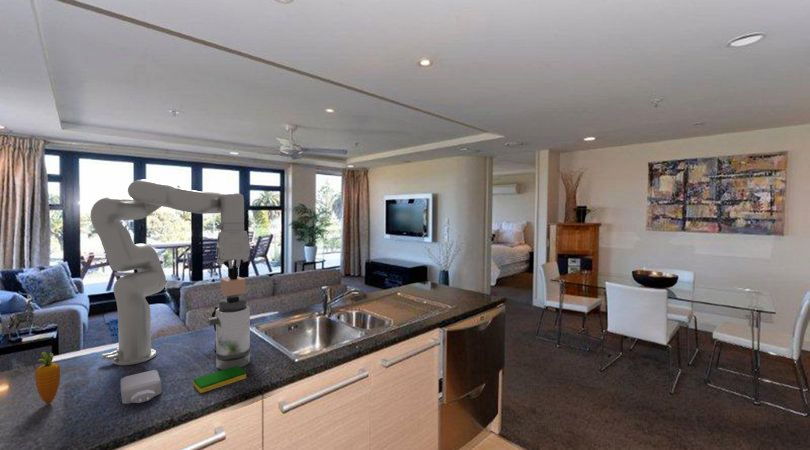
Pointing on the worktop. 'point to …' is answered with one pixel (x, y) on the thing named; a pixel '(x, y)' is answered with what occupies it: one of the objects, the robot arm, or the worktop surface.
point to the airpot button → (232, 286)
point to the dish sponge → (219, 379)
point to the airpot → (232, 332)
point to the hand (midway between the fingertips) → (233, 278)
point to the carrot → (47, 378)
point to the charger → (140, 387)
